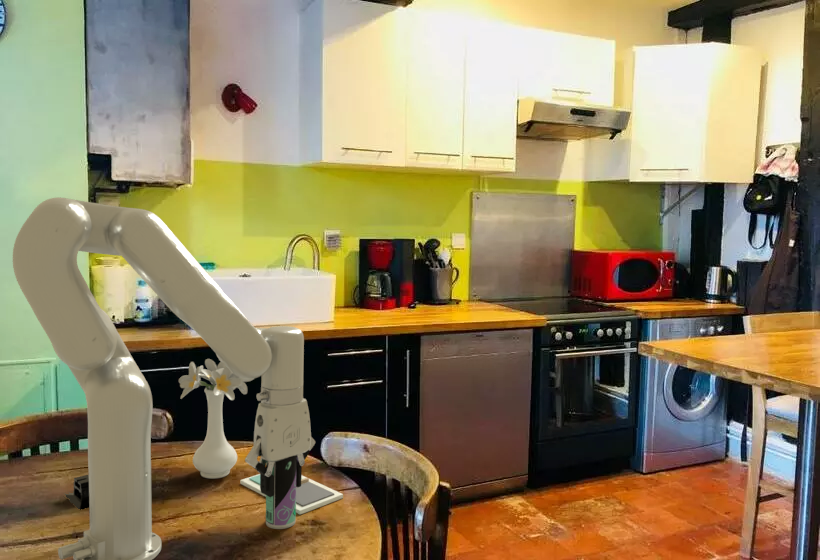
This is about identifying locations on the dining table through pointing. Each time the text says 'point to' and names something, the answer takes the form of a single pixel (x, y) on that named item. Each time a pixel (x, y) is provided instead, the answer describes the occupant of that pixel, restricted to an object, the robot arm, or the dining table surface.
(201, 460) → the flower vase
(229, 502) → the dining table surface
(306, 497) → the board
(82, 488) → the black angular piece
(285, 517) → the spray can
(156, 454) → the dining table surface
